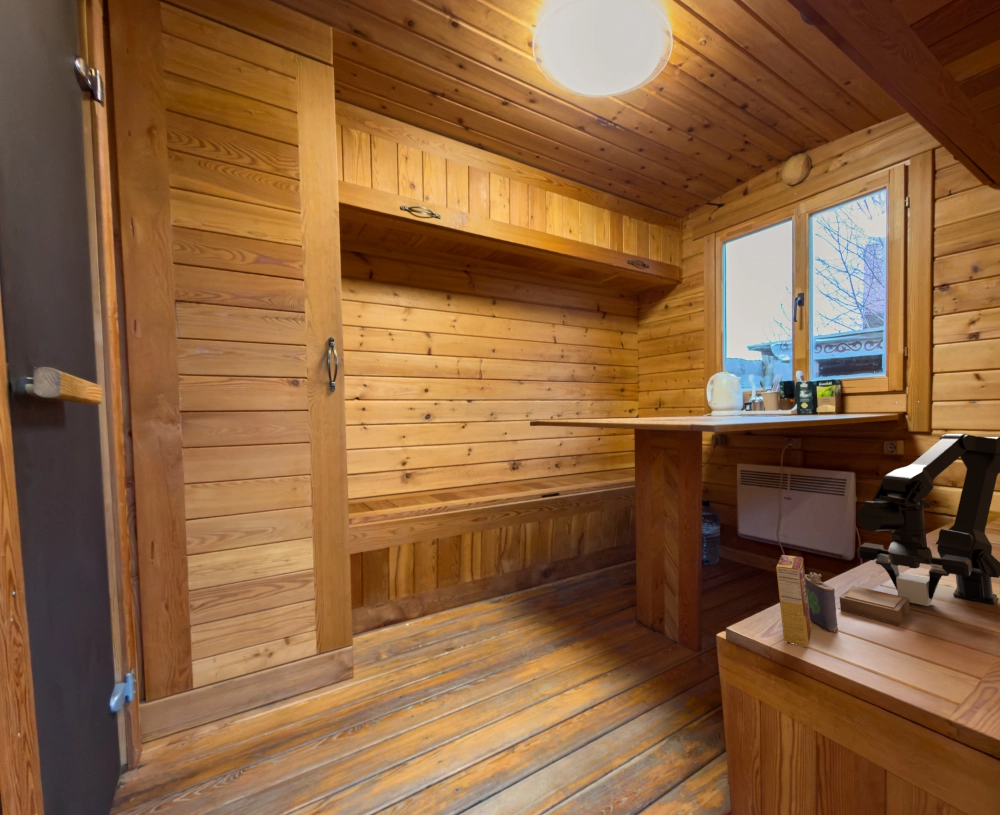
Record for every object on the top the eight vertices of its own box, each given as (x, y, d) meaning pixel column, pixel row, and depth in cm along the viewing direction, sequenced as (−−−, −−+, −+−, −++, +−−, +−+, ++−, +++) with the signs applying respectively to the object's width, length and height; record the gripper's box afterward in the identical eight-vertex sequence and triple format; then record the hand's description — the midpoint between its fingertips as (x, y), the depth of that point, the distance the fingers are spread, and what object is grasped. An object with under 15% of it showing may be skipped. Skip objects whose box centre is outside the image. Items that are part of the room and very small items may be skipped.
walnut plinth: (853, 598, 103) (852, 584, 103) (910, 611, 95) (908, 596, 95) (840, 610, 97) (839, 596, 97) (899, 625, 89) (897, 609, 89)
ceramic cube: (903, 593, 102) (901, 572, 102) (932, 599, 98) (930, 578, 98) (898, 599, 99) (896, 578, 99) (928, 606, 95) (926, 583, 95)
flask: (841, 633, 87) (836, 580, 87) (825, 633, 87) (820, 580, 88) (814, 613, 96) (810, 566, 97) (800, 613, 96) (796, 566, 97)
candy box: (787, 625, 91) (781, 554, 92) (811, 630, 89) (805, 557, 89) (781, 642, 84) (775, 565, 85) (808, 648, 82) (801, 569, 82)
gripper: (847, 527, 102) (853, 593, 101) (961, 542, 87) (969, 619, 86) (861, 519, 108) (867, 581, 108) (969, 532, 93) (976, 603, 93)
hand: (914, 595), depth 98 cm, fingers closed on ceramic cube, 5 cm apart
